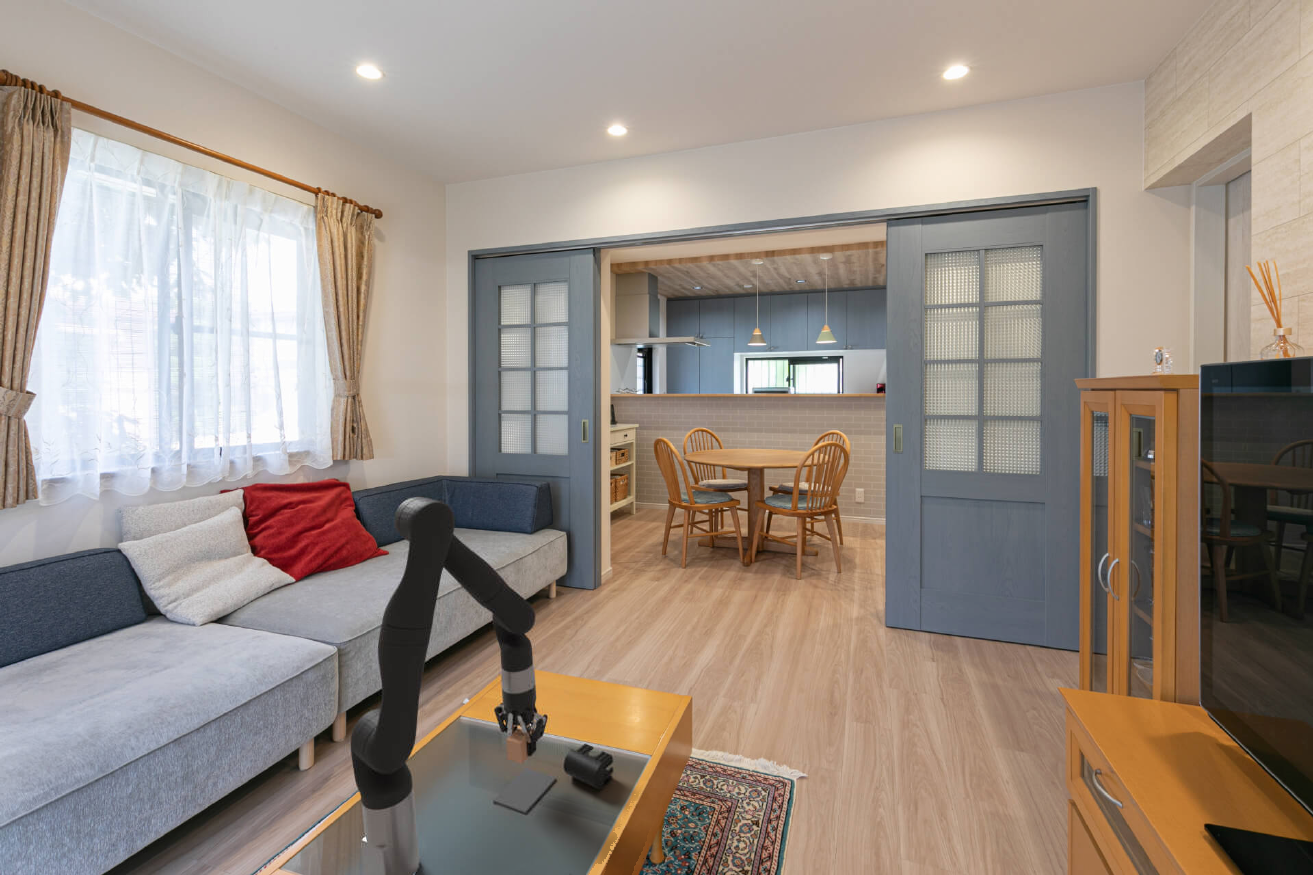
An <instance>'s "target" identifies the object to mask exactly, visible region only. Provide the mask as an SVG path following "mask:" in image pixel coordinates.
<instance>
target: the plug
mask: <svg viewBox="0 0 1313 875" xmlns="http://www.w3.org/2000/svg"><path fill="white" fill-rule="evenodd" d="M535 728H536V726H535ZM530 734H531V731H530ZM505 741H506V743H505V744H506V754H507V760H509V761H512V762H514V763H518V764H521V765H522V764H523V763H524V762H525V761H526V760H527V759H528V758H529V757H530V756H527V745H526V742H527V740H526V736H525V734H524V733H523V732H522V728H521V726H518V729H517V730H516V731H515V732H514V733H513V734H512V735H510V736H507V738H506V740H505Z"/></svg>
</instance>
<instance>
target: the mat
mask: <svg viewBox="0 0 1313 875" xmlns="http://www.w3.org/2000/svg"><path fill="white" fill-rule="evenodd" d="M555 781H557V777H555V776H552V775H548V774H545V773H542V772H539V771H536V770H533V769H530V768H528V767H525V768H523V769H522V770H521V772H520V773H518V775H516V777H515V778H514V779H513V780H512V781H510V783H509V784H507V786H506V787H505V788H504V789H502V791H501V792H500V793H499V794H498V795H497V796H496V797H495V798H494V799H492V802H493V803H495V804H498V805H500V806H502V807H505V808H508V809H510V810H513V811H516V812H519V813H522V814H524V815H526V814H527V813H528V812H529V810H531V808H532V807H533V806H534V805H535V804H536V803H537V802H538V801H539V799H540V798H541V797H542V796H543V795H544V794H545V793H546V792H547V791H548V789H549V788H550V787H551V786H552V785H553V784H554V783H555Z"/></svg>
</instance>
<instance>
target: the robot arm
mask: <svg viewBox="0 0 1313 875" xmlns="http://www.w3.org/2000/svg"><path fill="white" fill-rule="evenodd" d="M455 523H456V519H455V515H454V511H453V510H452V509H451V507H450V506H449V505H448V504H446V503H444V502H442V501H439V500H435V499H432V498H429V497H424V496H423V497H422V496H416V497H410V498H407V499H406V500H404V501H403V502H402V503H401V504H400V505H398V507H397V509H396V512H395V514H394V527H395V529H396V531H397V533H398V534H399V535H400V536H401V538H402V539H404V540H405V541H408V553H407V559H406V563H405V564H406V565H405V569H404V572H403V575H402V578H401V580H400V582H399V584H398V585H397V587H396V589H395V591H393V594H392V595H391V597H390V599H389V600H388V603H387V605H386V607H385V610H384V613H383V616H382V619H381V620H382V621H381V624H380V631H379V636H378V643H377V659H378V665H379V666H378V667H379V673H380V674H379V675H380V681H381V690H382V691H381V692H382V695H381V696H382V697H381V706H380V708H376V709H372V710H369V711H368V712H366V713H365V714H363V715H362V716H361V717H360V718H359V719H358V721H357V722H356V723H355V725H354V727H353V729H352V733H351V736H350V754H351V756H350V757H351V764H352V770H353V775H354V780H355V781H354V782H355V785H356V788H357V789H358V792H359V794H360V801H361V808H362V820H363V828H364V829H363V830H364V836H363V838H361V840H360V847H361V856H362V858H361V859H362V867H363V875H413V874H414V873H415V872H417V873H418V871H419V869H418V868H420V865H419V863H420V853H419V843H418V832H417V830H418V829H417V821H416V820H417V817H416V807H415V798H414V796H415V795H414V786H413V776H412V772H411V770H410V768H409V766H408V765H407V763H406V762H407V761H408V760H409V758H410V756H411V755H412V752H413V750H414V746H415V743H416V738H417V731H418V730H417V728H418V727H417V726H418V716H419V715H418V714H419V703H420V694H421V688H422V682H423V676H424V670H425V664H426V660H427V659H426V658H427V653H428V649H429V643H430V640H431V635H432V630H433V624H434V623H433V622H434V617H435V611H436V605H437V599H438V595H439V590H440V584H441V579H442V578H441V577H442V575H443V571H444V570H446V572H448V573H449V575H451V577H453V578H454V580H455V581H456V582H457V583H458V584H459V585H460V586H461V587H462V588H463V589H464V590H465V591H466V592H467V593H468V594H469V595H470V596H471V597H472V598H473V599H474V600H475V601H476V602H477V603H478V604H479V605H480V606H482V607H483V608H485V609H486V610H488V611H489V612H490V613H491V614H492V615H491V617H492V624H493V629H494V632H495V633H494V634H495V636H496V640H497V644H498V646H499V649H500V666H501V671H500V682H501V692H502V693H501V695H502V696H501V697H502V702H501V703H500V704H499V705H497V706H496V707H495V708H494V709H493V710H494V714H495V717H496V719H497V723H498V726H499V729H500V731H501V732H502V733H506V735H507V737H509V736H510V735H512V734H513V733H514V732H515V731H516V730H517V729H518V728H519V727H521V728H522V732H523V733H524V734H525V736H526V740H527V742H526V745H527V756H529V757H532V756H533V755H534V754H535V753H536V751H537V742H538V741H539V740H540V739H541V738H542V737H543V736H544V733H545V730H546V726H547V722H548V720H549V718H548V715H547V714H543V715H541V714H540V713H539V712H538V709H537V707H536V702H537V688H536V687H537V686H536V672H535V667H534V660H533V658H534V657H533V647H532V642H531V640H530V638H529V637H528V636H527V635H526V634H527V633H529V632H530V631H531V630H532V629H533V628H534V625H535V622H536V612H535V609H534V608H533V606H532V605H531V604H530V603H529V602H528V601H527V600H526V599H525V598H524V597H523V596H522V595H520V594H519V593H518V592H517V591H515V590H514V589H513V588H512V587H511V586H510V585H509V584H508V583H507V582H506V580H505V579H504V578H503V577H502V576H501V575H500V574H499V573H498V572H497V571H496V570H495V568H493V567H492V566H491V564H490V563H488V562H487V561H486V560H485V559H484V558H482V557H481V556H480V555H478V554H477V553H476V552H474V550H472V549H471V548H470V547H468V546H467V545H466V544H464V542H462V541H461V540H460V539H459V538H458V537H457V536H456V535H455V534H454V532H455V526H456V525H455ZM535 727H536V728H535ZM530 731H531V734H530ZM417 870H418V871H417Z"/></svg>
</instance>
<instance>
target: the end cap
mask: <svg viewBox="0 0 1313 875" xmlns="http://www.w3.org/2000/svg"><path fill="white" fill-rule="evenodd" d="M593 750H594V746H592V745H590V744H587V743H584V744H582V745H581V746H580V747H579V748H577V749H576V750H575V749H572V748H571V749H570V750H569V751H568V752H567V754H566V756H565V758H564V761H563V771H564V773H565V774H567V775H568V776H570V777H573V779H574V778H575V779H576V780H578V781H581V782H583V783H584V784H587V785H588V786H591V787H592V788H594V789H596V790H599V791H600V790H603V789H604V788H605V787H606V786H608V784H610V783H611V782H612V781H613V776H612V774H614V767H613V766H611V765H612V764H613V763H614V761H613V760H614V759H613V758H614V757H613V755H612V754H609V752H606V751H602V750H601V752H600V753H598V754H597V755H595V756H594V755H593V756H592V755H590V753H591V752H592V751H593ZM610 766H611V767H610ZM607 768H608V769H607ZM610 781H611V782H610ZM609 782H610V783H609Z"/></svg>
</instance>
